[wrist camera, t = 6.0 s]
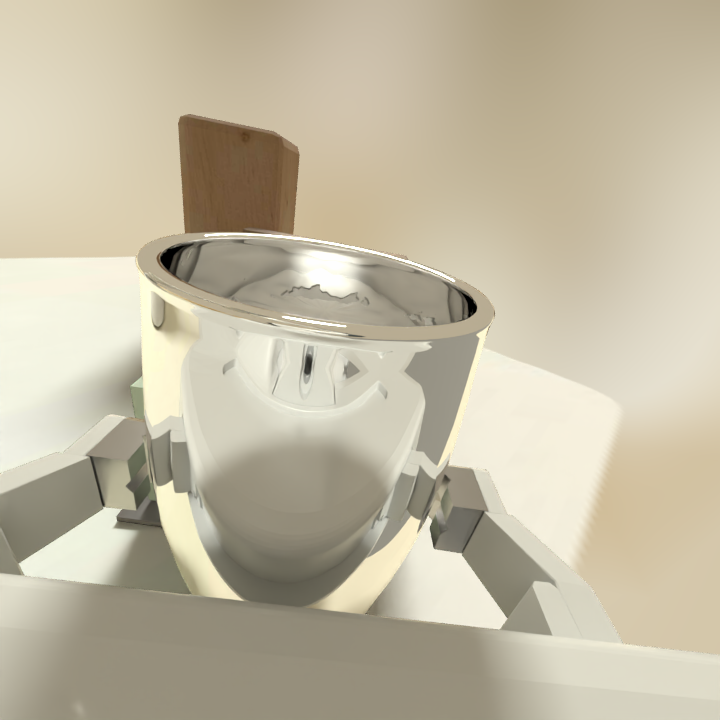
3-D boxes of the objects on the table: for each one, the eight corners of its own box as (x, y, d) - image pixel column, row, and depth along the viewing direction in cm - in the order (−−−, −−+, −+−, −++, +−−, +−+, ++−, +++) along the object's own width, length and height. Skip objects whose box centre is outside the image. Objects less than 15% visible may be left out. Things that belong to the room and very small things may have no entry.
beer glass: (340, 811, 10) (573, 402, 3) (134, 726, 11) (-33, 248, 4) (377, 578, 16) (483, 273, 9) (245, 535, 17) (255, 223, 10)
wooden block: (270, 329, 40) (282, 132, 31) (186, 315, 39) (172, 109, 30) (288, 304, 48) (301, 145, 39) (220, 292, 48) (217, 128, 39)
